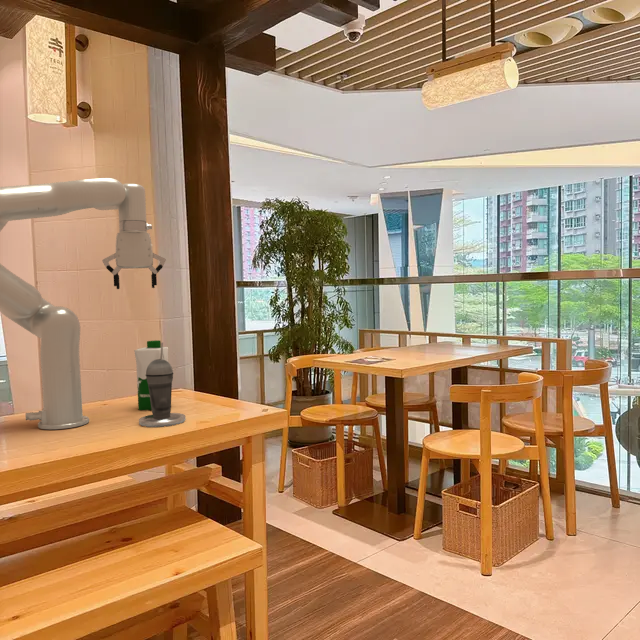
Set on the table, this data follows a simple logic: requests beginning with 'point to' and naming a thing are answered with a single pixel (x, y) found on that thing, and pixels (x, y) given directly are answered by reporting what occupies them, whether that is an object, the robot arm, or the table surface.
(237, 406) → the table surface
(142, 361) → the milk carton
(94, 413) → the table surface
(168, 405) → the beverage cup
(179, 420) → the flange plate
